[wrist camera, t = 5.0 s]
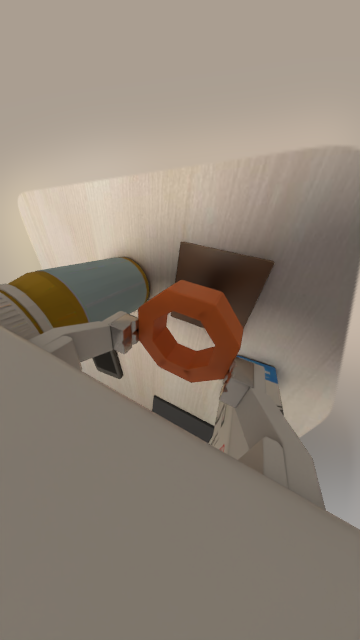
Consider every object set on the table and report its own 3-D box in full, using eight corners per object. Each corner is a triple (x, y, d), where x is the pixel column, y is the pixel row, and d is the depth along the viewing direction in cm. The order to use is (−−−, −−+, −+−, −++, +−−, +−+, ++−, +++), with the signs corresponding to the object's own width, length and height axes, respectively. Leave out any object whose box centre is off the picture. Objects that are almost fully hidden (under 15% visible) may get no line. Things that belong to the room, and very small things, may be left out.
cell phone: (99, 368, 37) (97, 370, 36) (80, 318, 30) (76, 320, 30) (123, 377, 34) (121, 380, 34) (108, 325, 28) (104, 327, 27)
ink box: (237, 353, 20) (223, 461, 10) (278, 368, 18) (305, 507, 9) (219, 391, 24) (199, 490, 15) (251, 405, 23) (251, 524, 14)
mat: (216, 427, 29) (216, 430, 29) (202, 450, 36) (202, 452, 36) (154, 395, 33) (153, 396, 33) (151, 420, 39) (151, 422, 39)
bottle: (125, 309, 24) (-1, 384, 12) (102, 266, 22) (-80, 305, 10) (159, 300, 21) (30, 391, 9) (137, 247, 18) (-80, 273, 6)
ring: (256, 301, 7) (256, 318, 6) (221, 373, 11) (216, 395, 9) (156, 271, 9) (137, 278, 8) (152, 342, 12) (138, 356, 11)
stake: (274, 261, 14) (283, 273, 10) (238, 336, 19) (234, 367, 14) (183, 241, 16) (158, 244, 12) (172, 313, 21) (152, 333, 17)
